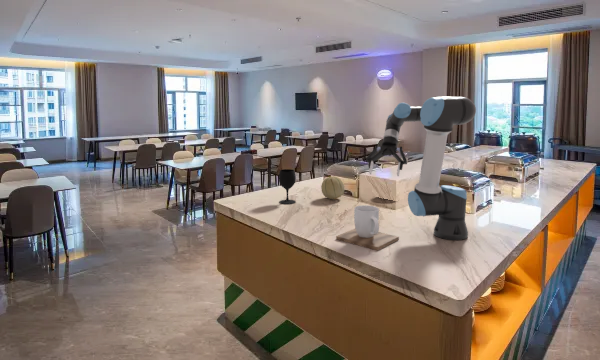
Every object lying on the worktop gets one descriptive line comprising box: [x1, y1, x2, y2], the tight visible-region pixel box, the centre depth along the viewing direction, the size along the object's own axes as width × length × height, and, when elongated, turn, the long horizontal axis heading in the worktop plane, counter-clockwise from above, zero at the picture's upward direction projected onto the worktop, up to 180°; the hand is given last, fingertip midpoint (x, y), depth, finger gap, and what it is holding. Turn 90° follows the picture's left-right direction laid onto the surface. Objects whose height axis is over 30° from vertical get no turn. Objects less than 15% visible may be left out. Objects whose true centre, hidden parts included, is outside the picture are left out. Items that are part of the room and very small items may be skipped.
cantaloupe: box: [320, 175, 345, 200], centre depth 268 cm, size 15×15×15 cm
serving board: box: [335, 228, 400, 251], centre depth 194 cm, size 22×18×2 cm
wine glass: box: [278, 168, 297, 205], centre depth 260 cm, size 10×10×20 cm
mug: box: [353, 204, 380, 238], centre depth 191 cm, size 15×11×13 cm
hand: (383, 173), depth 209 cm, fingers open, 13 cm apart
